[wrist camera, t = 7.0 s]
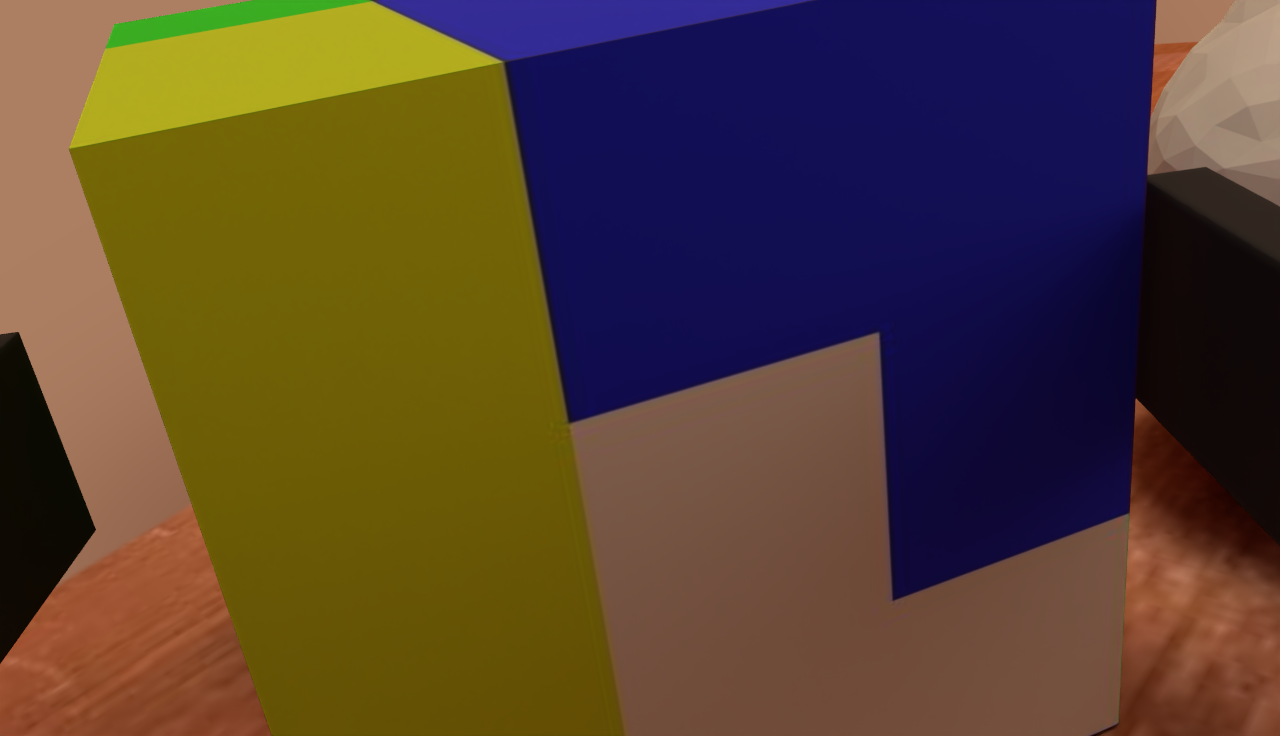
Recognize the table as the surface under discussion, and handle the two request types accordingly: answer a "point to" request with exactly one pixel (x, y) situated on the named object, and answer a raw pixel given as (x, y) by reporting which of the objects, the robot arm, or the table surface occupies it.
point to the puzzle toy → (645, 353)
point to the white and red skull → (1226, 103)
